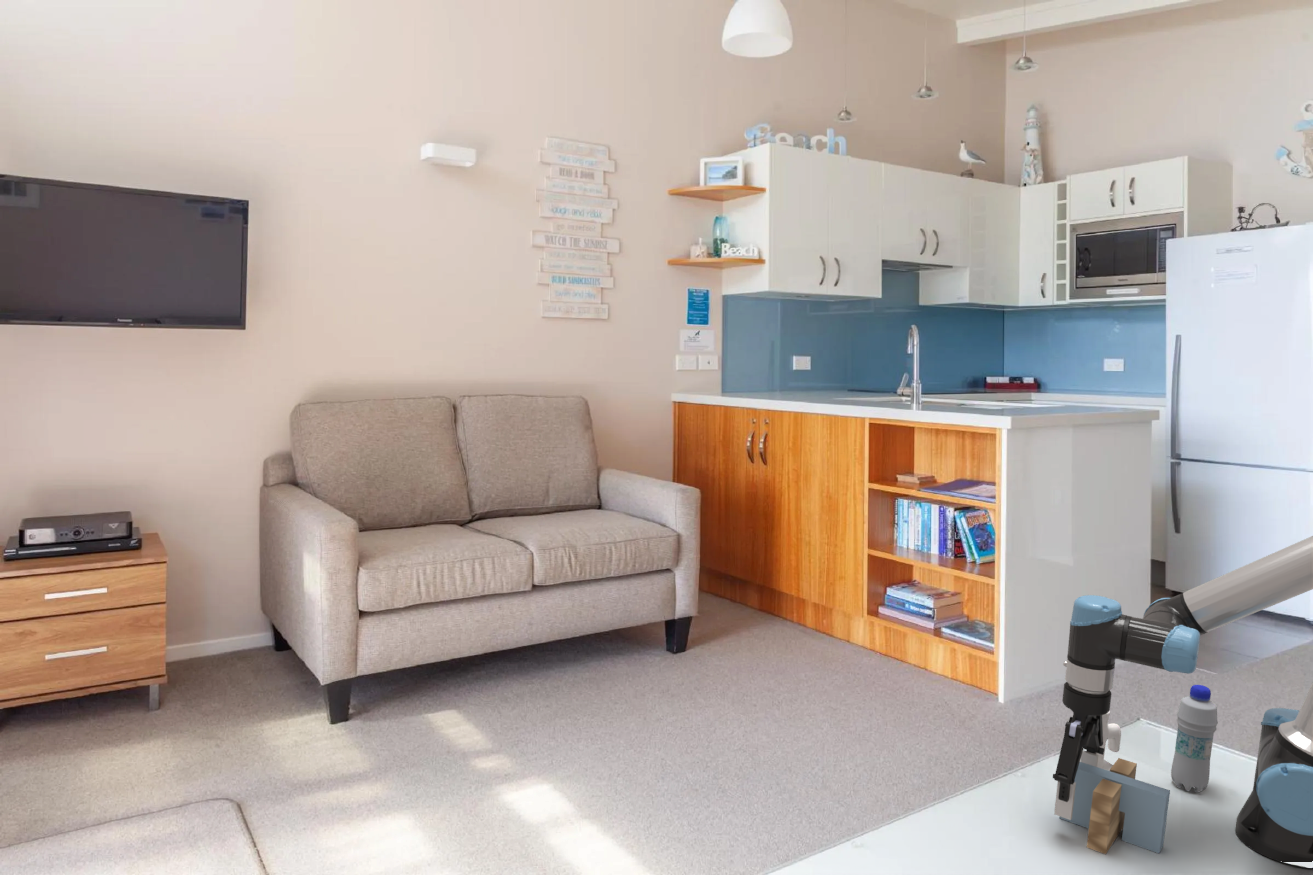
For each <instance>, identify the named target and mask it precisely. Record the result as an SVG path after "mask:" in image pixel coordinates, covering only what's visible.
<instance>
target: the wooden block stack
mask: <svg viewBox="0 0 1313 875" xmlns="http://www.w3.org/2000/svg"><path fill="white" fill-rule="evenodd" d="M1112 765H1113V766H1112V767H1111V769H1110V771H1111V772H1114V773H1117V774H1120V775H1123V776H1127V777H1130V778H1133V779H1136V776H1137V775H1136V773H1137V767H1138V766H1137V765H1138V763H1136V762H1133V761H1129V760H1126V759H1123V758H1121V757H1118V758H1117V760H1116V761H1115V762H1114V764H1112ZM1121 787H1122V785H1121V784H1118V783H1115V782H1112V781H1109V780H1105V779H1102V780H1101V782H1100V783H1099V784H1098V785H1097V787H1096V788H1095V789H1094V791H1093V797H1092V805H1091V814H1090V823H1089V829H1088V831H1087V833H1088V834H1087V842H1086V848H1088V849H1090V850H1093V851H1096V852H1099V853H1101V854H1103V855H1107V853H1108V852H1109V850H1110V849H1111V847H1112V846H1113V844H1114V842H1115V841H1116V839H1117V838H1118V836H1119V835H1120V833H1122V832H1121V831H1123V826H1124V818H1125V813H1124V812H1121V811H1119V803H1120V795H1121Z"/></svg>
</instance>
